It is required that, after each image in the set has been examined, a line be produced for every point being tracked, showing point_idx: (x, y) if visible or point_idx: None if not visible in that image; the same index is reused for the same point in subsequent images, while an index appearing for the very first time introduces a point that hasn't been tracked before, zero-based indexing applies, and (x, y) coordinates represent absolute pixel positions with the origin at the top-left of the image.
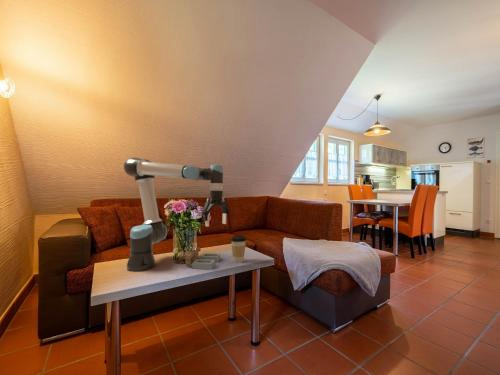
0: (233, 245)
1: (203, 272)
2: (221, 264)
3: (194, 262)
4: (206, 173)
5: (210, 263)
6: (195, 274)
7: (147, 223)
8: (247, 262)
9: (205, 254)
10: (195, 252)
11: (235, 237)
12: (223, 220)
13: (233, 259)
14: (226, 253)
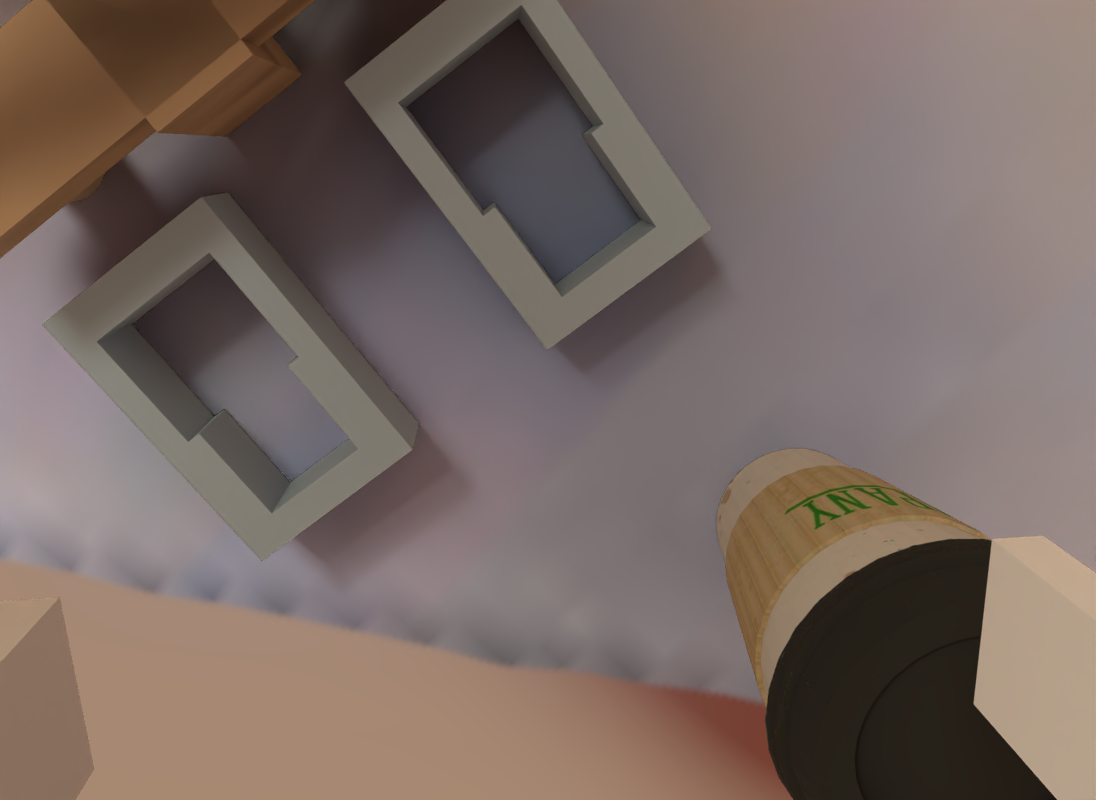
0: (764, 653)
1: (133, 543)
2: (514, 458)
3: (79, 324)
4: None
5: (255, 542)
6: (11, 531)
7: None
8: None
9: (515, 11)
10: (174, 122)
11: (935, 683)
12: (1077, 680)
13: (736, 490)
14: (990, 40)
